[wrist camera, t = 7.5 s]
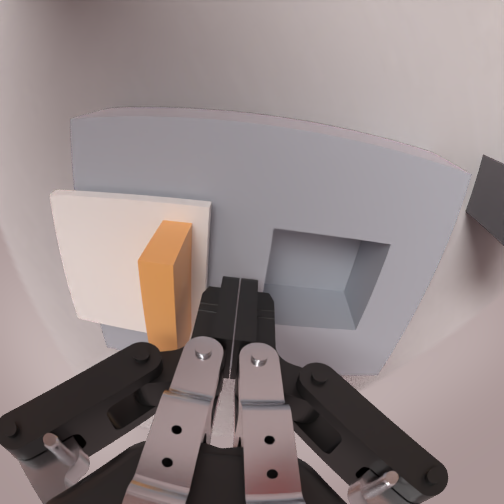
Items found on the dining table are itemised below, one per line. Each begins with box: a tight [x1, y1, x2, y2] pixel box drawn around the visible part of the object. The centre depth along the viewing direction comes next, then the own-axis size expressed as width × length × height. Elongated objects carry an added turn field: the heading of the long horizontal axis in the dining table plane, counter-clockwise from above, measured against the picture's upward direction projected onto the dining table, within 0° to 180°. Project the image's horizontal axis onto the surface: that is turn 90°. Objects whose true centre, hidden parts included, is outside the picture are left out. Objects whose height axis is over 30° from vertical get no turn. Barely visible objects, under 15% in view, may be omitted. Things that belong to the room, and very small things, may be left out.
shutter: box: [49, 190, 212, 352], centre depth 12 cm, size 8×8×4 cm
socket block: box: [70, 107, 472, 376], centre depth 16 cm, size 14×18×4 cm
